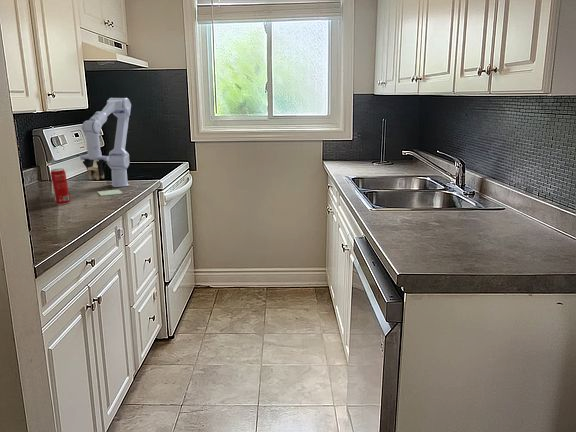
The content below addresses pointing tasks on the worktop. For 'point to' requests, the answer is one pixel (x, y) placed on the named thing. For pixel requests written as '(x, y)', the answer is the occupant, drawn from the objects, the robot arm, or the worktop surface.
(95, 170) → the stool
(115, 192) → the mat
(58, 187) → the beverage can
